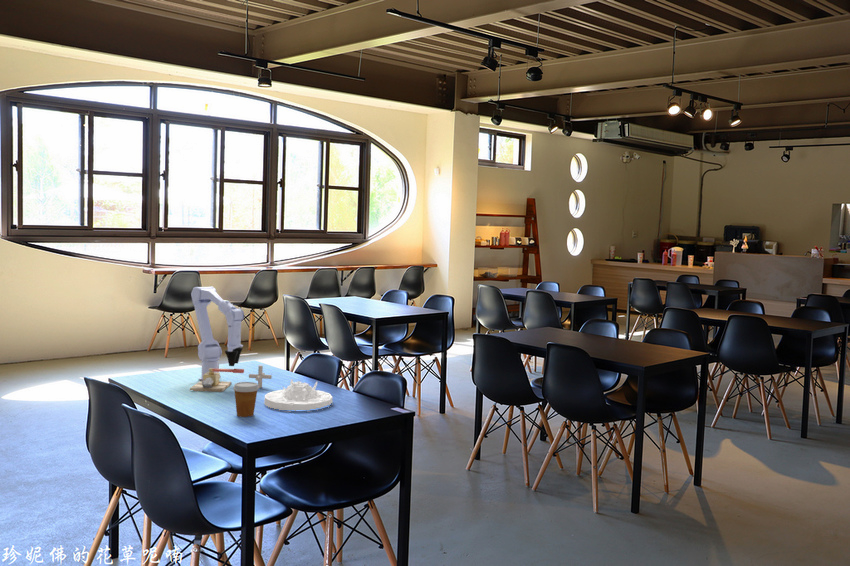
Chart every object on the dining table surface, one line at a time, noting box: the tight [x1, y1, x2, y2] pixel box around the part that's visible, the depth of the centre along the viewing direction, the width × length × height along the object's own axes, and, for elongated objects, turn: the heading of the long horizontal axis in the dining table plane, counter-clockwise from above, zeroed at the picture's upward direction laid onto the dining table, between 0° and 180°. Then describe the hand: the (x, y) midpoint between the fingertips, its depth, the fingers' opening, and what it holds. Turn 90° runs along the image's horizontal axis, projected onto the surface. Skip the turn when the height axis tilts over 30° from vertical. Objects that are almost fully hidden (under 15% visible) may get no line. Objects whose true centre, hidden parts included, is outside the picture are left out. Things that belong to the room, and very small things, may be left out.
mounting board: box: [189, 380, 232, 393], centre depth 317 cm, size 16×14×1 cm
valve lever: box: [209, 368, 245, 374], centre depth 317 cm, size 15×3×1 cm, turn 91°
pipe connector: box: [248, 364, 273, 389], centre depth 321 cm, size 10×10×10 cm
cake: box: [263, 378, 334, 411], centre depth 295 cm, size 28×28×10 cm
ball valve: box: [202, 371, 221, 388], centre depth 317 cm, size 16×6×7 cm, turn 1°
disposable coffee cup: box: [232, 381, 260, 418], centre depth 273 cm, size 10×10×12 cm
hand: (233, 364), depth 324 cm, fingers open, 6 cm apart
